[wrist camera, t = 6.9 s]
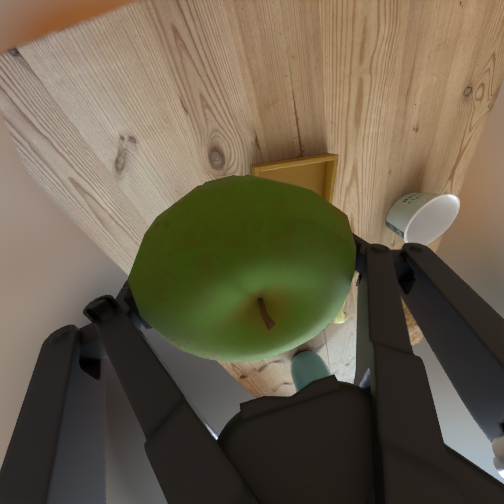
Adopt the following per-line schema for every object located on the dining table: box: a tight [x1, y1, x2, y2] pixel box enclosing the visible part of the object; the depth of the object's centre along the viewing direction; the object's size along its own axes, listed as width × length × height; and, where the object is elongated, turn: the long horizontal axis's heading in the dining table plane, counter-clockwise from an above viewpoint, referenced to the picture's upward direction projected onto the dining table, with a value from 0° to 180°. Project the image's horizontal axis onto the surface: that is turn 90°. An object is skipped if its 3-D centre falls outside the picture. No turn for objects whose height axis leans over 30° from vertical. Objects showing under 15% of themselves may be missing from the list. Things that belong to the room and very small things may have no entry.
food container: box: [386, 193, 460, 245], centre depth 40 cm, size 12×12×6 cm
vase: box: [291, 351, 331, 392], centre depth 59 cm, size 14×14×31 cm
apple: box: [128, 175, 356, 363], centre depth 13 cm, size 12×12×11 cm
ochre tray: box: [250, 153, 339, 204], centre depth 34 cm, size 14×14×3 cm
